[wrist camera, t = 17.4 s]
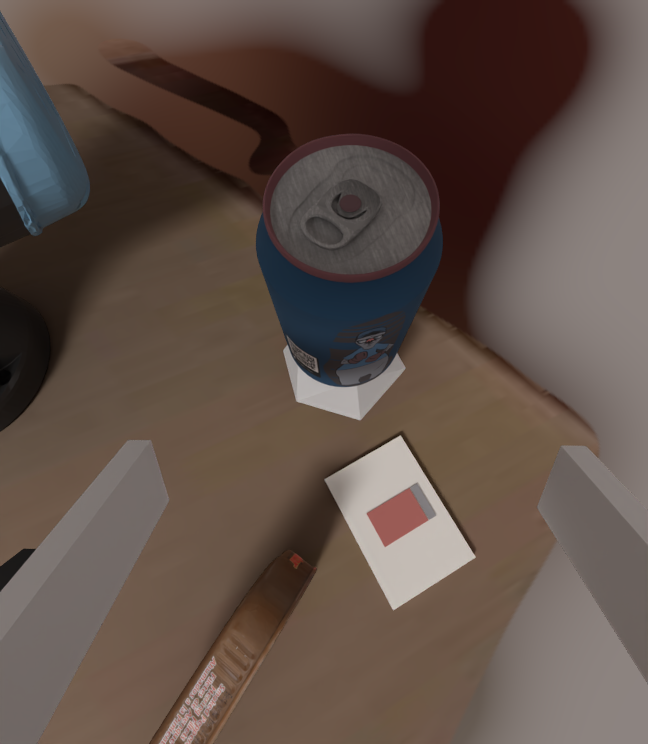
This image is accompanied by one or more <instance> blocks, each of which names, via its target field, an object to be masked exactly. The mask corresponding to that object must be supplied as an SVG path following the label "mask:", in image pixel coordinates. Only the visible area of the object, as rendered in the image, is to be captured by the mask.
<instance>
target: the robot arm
mask: <svg viewBox="0 0 648 744" xmlns="http://www.w3.org/2000/svg"><path fill="white" fill-rule="evenodd" d="M89 194H90V181H89V177H88V174H87V171H86V168H85V166H84V163H83V161H82V159H81V157H80V155H79V152H78V150H77V148H76V146H75V144H74V142H73V140H72V138H71V136H70V135H69V133H68V131H67V129H66V127H65V125H64V123H63V121H62V119H61V117H60V115H59V114H58V112H57V110H56V108H55V106H54V104H53V103H52V101H51V99H50V97H49V95H48V93H47V91H46V90H45V88H44V86H43V84H42V83H41V81H40V79H39V77H38V76H37V74H36V72H35V70H34V68H33V67H32V65H31V63H30V61H29V60H28V58H27V56H26V54H25V53H24V51H23V49H22V47H21V46H20V44H19V42H18V41H17V39H16V37H15V35H14V34H13V32H12V30H11V28H10V27H9V25H8V23H7V22H6V20H5V18H4V17H3V15H2V13H1V12H0V247H2V246H5V245H7V244H9V243H11V242H14V241H16V240H18V239H20V238H23V237H25V236H27V235H29V234H31V235H33V236H37V235H40V234H41V233H42V229H43V228H44V227H46V226H48V225H50V224H52V223H54V222H56V221H58V220H60V219H62V218H64V217H66V216H68V215H70V214H72V213H74V212H76V211H77V210H79V209H80V208H81V207H82V206H84V204H85V203H86V202H87V200H88V197H89ZM49 355H50V339H49V333H48V330H47V327H46V324H45V322H44V320H43V318H42V316H41V315H40V313H39V312H38V311H37V310H36V309H35V308H34V307H33V306H32V305H31V304H30V303H28V302H27V301H25V300H23V299H22V298H20V297H18V296H16V295H15V294H13V293H11V292H9V291H8V290H6V289H4V288H2V287H0V431H1V430H2V429H4V428H5V427H6V426H7V425H9V424H10V423H11V422H12V421H13V420H14V419H15V418H16V417H17V416H18V415H19V414H20V413H21V412H22V411H23V410H24V409H25V408H26V406H27V405H28V404H29V403H30V401H31V400H32V398H33V397H34V395H35V394H36V392H37V390H38V388H39V387H40V385H41V383H42V380H43V378H44V375H45V373H46V369H47V366H48V362H49ZM168 502H169V498H168V494H167V491H166V488H165V485H164V481H163V478H162V475H161V472H160V468H159V465H158V462H157V459H156V455H155V452H154V449H153V445H152V442H151V440H128V441H127V442H126V443H125V444H124V445H123V447H122V448H121V449H120V450H119V451H118V453H117V454H116V455H115V456H114V457H113V458H112V460H111V461H110V462H109V463H108V464H107V466H106V467H105V468H104V469H103V470H102V472H101V473H100V474H99V475H98V476H97V478H96V479H95V480H94V481H93V482H92V483H91V485H90V486H89V487H88V488H87V489H86V491H85V492H84V493H83V494H82V495H81V497H80V498H79V499H78V500H77V501H76V502H75V504H74V505H73V506H72V507H71V508H70V510H69V511H68V512H67V513H66V514H65V516H64V517H63V518H62V519H61V520H60V522H59V523H58V524H57V525H56V526H55V527H54V529H53V530H52V531H51V532H50V533H49V535H48V536H47V537H46V538H45V539H44V541H43V542H42V543H41V544H40V545H39V546H38V548H37V549H23V550H21V551H20V552H19V553H18V554H16V555H15V556H14V557H12V558H11V559H10V560H8V561H7V562H6V563H4V564H3V565H2V566H0V744H37V743H38V741H39V739H40V737H41V735H42V734H43V732H44V730H45V728H46V726H47V724H48V723H49V721H50V719H51V717H52V715H53V713H54V711H55V710H56V708H57V706H58V704H59V702H60V700H61V699H62V697H63V695H64V693H65V691H66V689H67V688H68V686H69V684H70V682H71V680H72V678H73V677H74V675H75V673H76V671H77V669H78V667H79V666H80V664H81V662H82V660H83V658H84V656H85V654H86V653H87V651H88V649H89V647H90V645H91V643H92V642H93V640H94V638H95V636H96V634H97V632H98V631H99V629H100V627H101V625H102V623H103V621H104V620H105V618H106V616H107V614H108V612H109V610H110V609H111V607H112V605H113V603H114V601H115V599H116V597H117V596H118V594H119V592H120V590H121V588H122V586H123V585H124V583H125V581H126V579H127V577H128V575H129V574H130V572H131V570H132V568H133V566H134V564H135V563H136V561H137V559H138V557H139V555H140V553H141V552H142V550H143V548H144V546H145V544H146V542H147V540H148V539H149V537H150V535H151V533H152V531H153V529H154V528H155V526H156V524H157V522H158V520H159V518H160V517H161V515H162V513H163V511H164V509H165V507H166V506H167V504H168ZM537 508H538V510H539V512H540V513H541V515H542V516H543V518H544V520H545V521H546V523H547V524H548V526H549V528H550V529H551V531H552V532H553V534H554V536H555V537H556V539H557V540H558V542H559V543H560V545H561V547H562V548H563V550H564V551H565V553H566V555H567V556H568V557H569V559H570V561H571V563H572V564H573V566H574V567H575V569H576V571H577V572H578V574H579V575H580V577H581V578H582V580H583V582H584V583H585V584H586V586H587V588H588V589H589V591H590V593H591V594H592V596H593V598H594V599H595V601H596V602H597V604H598V605H599V607H600V608H601V610H602V612H603V613H604V615H605V617H606V618H607V620H608V621H609V623H610V625H611V626H612V628H613V629H614V631H615V632H616V634H617V636H618V637H619V639H620V640H621V642H622V644H623V645H624V647H625V648H626V650H627V652H628V653H629V655H630V656H631V658H632V660H633V661H634V663H635V664H636V666H637V668H638V669H639V671H640V672H641V674H642V675H643V677H644V678H645V680H646V682H647V683H648V509H647V508H646V507H645V506H644V505H643V504H642V503H641V502H640V501H639V500H638V499H637V498H636V497H635V496H634V495H633V494H632V493H631V492H630V491H629V490H628V489H627V488H626V487H625V486H624V485H623V484H622V483H621V482H620V481H619V480H618V479H617V477H616V476H615V475H613V474H612V472H611V471H610V470H609V469H608V468H607V467H606V466H605V465H604V464H603V463H602V462H601V461H600V460H599V459H598V458H597V457H596V456H595V455H594V454H593V453H592V452H591V451H590V450H589V449H588V448H587V447H586V446H561V447H560V450H559V452H558V455H557V457H556V460H555V462H554V465H553V468H552V470H551V473H550V475H549V478H548V480H547V483H546V486H545V488H544V491H543V493H542V496H541V498H540V501H539V504H538V506H537Z"/></svg>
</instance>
